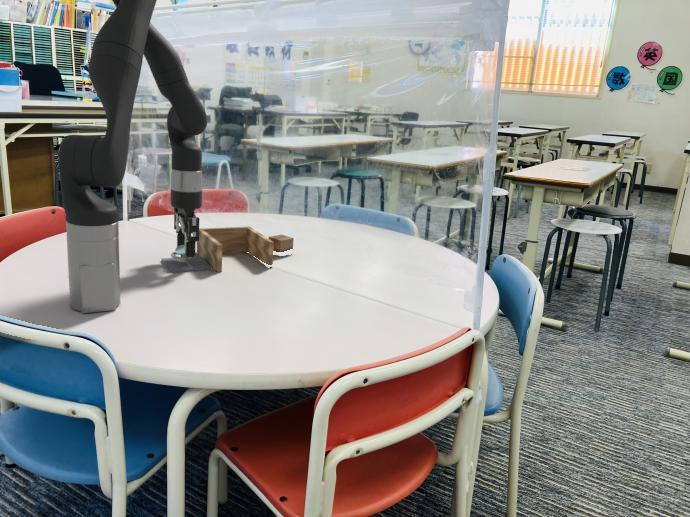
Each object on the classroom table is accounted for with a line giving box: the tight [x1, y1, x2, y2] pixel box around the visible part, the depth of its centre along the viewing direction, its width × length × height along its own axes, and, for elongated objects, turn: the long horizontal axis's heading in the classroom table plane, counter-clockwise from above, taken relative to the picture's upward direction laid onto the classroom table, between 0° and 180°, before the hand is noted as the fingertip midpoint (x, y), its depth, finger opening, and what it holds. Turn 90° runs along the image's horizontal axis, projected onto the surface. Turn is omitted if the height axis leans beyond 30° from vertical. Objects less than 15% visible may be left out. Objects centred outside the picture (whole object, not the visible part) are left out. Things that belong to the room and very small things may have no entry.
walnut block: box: [268, 234, 294, 252], centre depth 157 cm, size 5×5×5 cm
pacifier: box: [170, 234, 198, 260], centre depth 138 cm, size 7×6×6 cm
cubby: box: [196, 226, 274, 273], centre depth 146 cm, size 17×15×7 cm
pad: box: [161, 255, 213, 274], centre depth 139 cm, size 10×10×1 cm
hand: (185, 252), depth 139 cm, fingers closed on pacifier, 7 cm apart
